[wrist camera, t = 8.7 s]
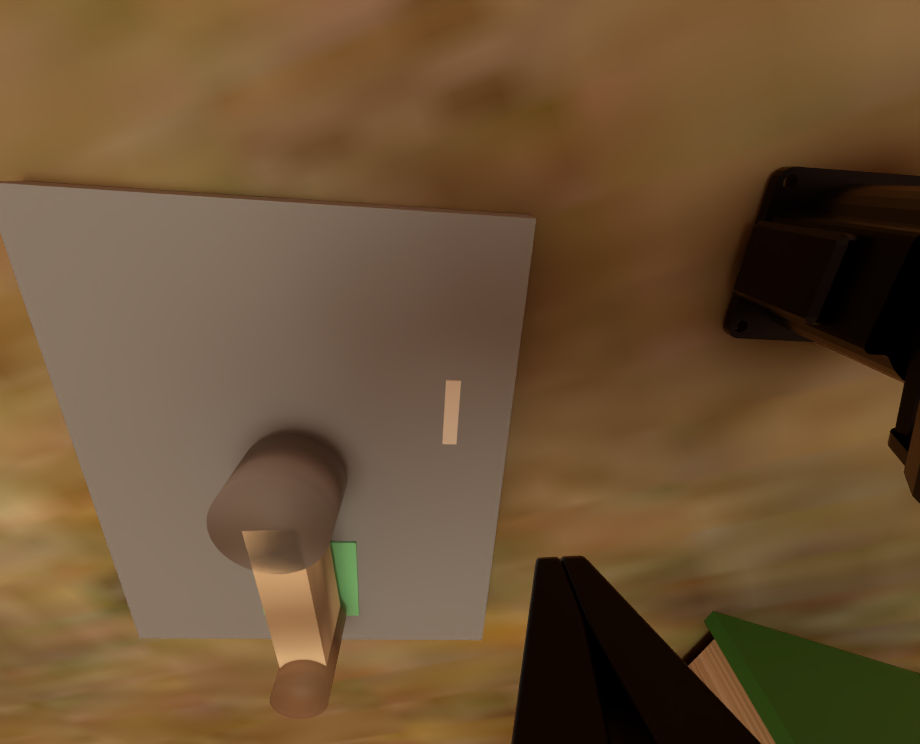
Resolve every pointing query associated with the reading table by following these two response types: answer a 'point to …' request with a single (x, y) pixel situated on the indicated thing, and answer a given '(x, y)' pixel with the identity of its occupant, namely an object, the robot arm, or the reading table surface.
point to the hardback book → (806, 688)
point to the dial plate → (281, 386)
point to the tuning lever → (289, 558)
